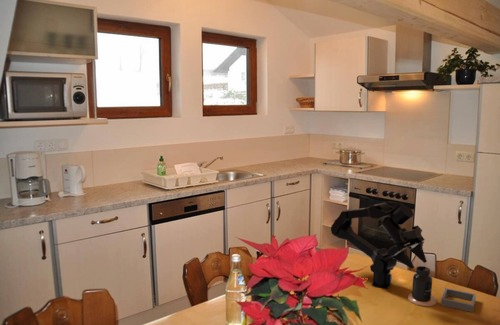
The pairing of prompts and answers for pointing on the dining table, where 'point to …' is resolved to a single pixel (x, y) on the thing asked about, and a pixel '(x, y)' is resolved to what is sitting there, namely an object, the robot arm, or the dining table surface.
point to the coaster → (425, 304)
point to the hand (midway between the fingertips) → (419, 265)
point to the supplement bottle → (422, 284)
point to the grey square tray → (455, 303)
